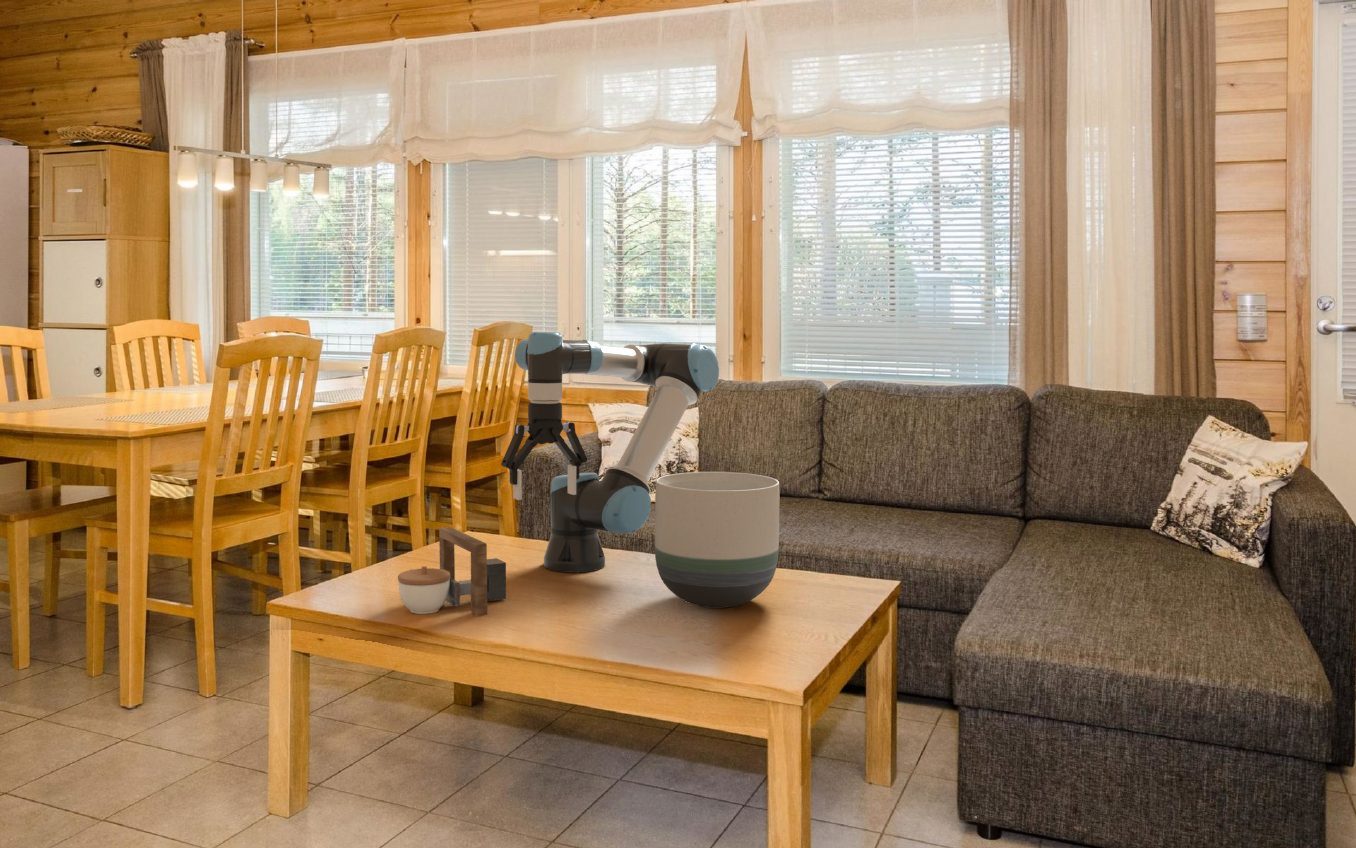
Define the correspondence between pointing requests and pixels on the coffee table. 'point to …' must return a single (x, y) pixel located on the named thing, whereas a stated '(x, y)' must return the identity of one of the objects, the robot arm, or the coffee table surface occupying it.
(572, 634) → the coffee table surface
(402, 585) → the lidded jar
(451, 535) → the bridge
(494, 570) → the cube and plate dumbbell
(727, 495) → the planter
